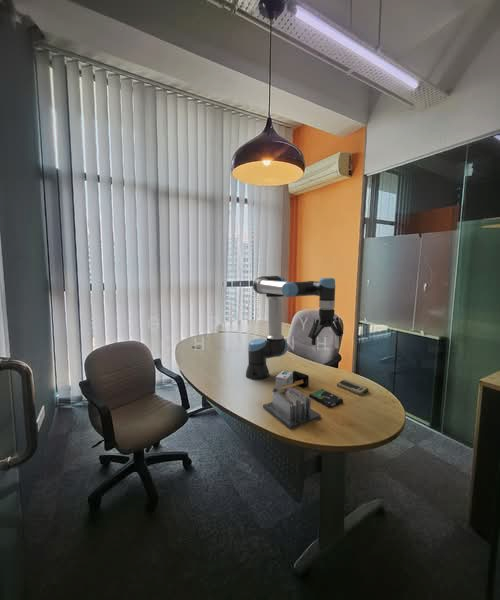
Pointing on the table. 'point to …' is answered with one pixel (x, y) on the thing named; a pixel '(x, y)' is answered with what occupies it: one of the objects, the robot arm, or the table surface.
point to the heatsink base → (291, 422)
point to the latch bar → (291, 385)
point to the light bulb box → (284, 380)
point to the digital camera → (301, 376)
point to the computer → (352, 387)
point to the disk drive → (326, 398)
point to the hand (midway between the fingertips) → (325, 349)
